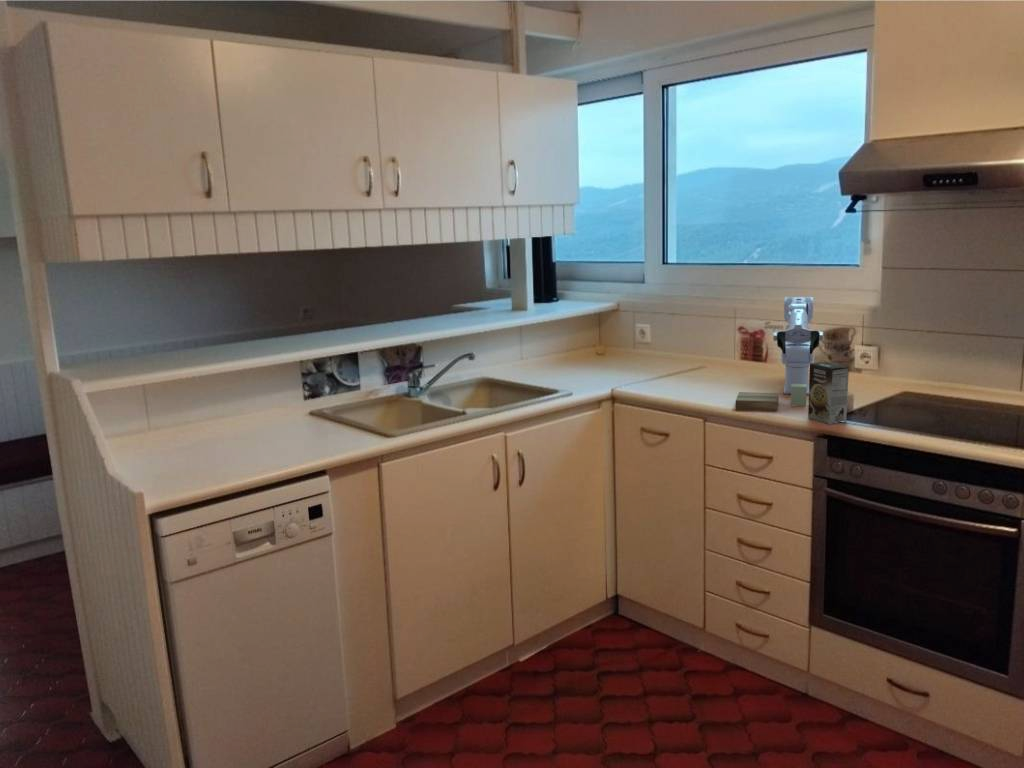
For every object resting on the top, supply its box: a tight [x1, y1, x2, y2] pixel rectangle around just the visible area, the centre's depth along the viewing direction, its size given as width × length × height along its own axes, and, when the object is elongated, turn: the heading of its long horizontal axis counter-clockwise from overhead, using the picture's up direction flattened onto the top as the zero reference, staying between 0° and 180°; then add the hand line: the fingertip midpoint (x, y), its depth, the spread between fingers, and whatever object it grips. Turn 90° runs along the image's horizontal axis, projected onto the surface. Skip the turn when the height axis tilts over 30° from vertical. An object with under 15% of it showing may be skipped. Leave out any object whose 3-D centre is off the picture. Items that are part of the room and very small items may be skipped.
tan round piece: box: [847, 392, 855, 413], centre depth 243 cm, size 5×5×5 cm
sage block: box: [790, 384, 808, 407], centre depth 253 cm, size 4×4×6 cm
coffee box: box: [807, 361, 850, 425], centre depth 232 cm, size 9×6×16 cm
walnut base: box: [735, 391, 780, 412], centre depth 253 cm, size 12×12×3 cm
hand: (797, 351), depth 248 cm, fingers open, 7 cm apart
